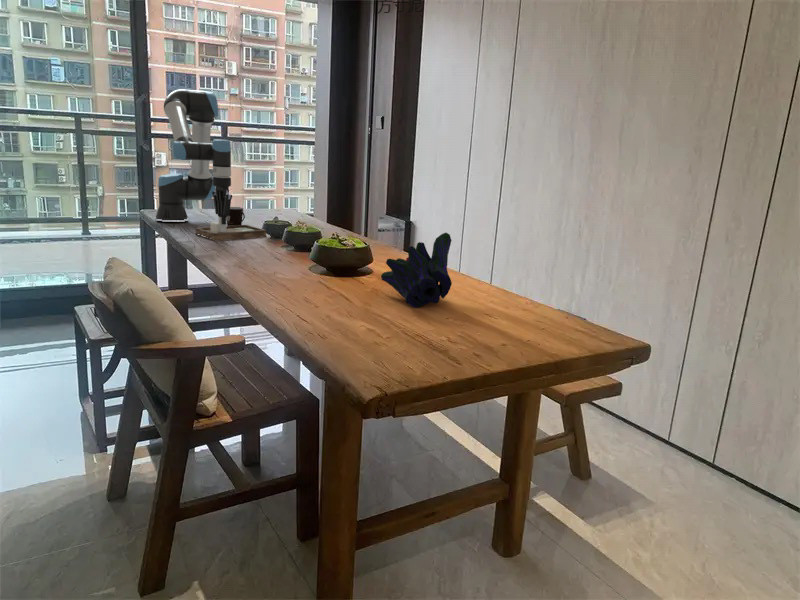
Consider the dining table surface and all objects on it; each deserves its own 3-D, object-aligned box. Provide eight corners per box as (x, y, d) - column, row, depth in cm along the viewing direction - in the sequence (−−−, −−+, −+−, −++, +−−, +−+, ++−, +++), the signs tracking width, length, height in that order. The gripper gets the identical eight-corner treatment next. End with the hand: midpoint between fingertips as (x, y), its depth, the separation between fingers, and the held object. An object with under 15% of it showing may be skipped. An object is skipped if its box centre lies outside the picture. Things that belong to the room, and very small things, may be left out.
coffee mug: (223, 227, 305) (223, 206, 302) (241, 227, 308) (241, 206, 306) (228, 231, 295) (227, 210, 292) (246, 230, 298) (246, 210, 296)
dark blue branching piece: (400, 335, 189) (386, 286, 215) (480, 307, 189) (457, 261, 214) (378, 281, 178) (366, 236, 203) (464, 250, 178) (441, 209, 203)
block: (210, 233, 274) (210, 222, 273) (220, 232, 278) (220, 221, 276) (216, 235, 271) (216, 223, 270) (226, 234, 274) (226, 223, 273)
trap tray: (195, 234, 280) (195, 228, 279) (246, 230, 298) (246, 224, 298) (214, 240, 269) (214, 234, 268) (266, 236, 287) (266, 230, 286)
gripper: (206, 175, 267) (207, 229, 273) (221, 178, 258) (222, 234, 265) (221, 175, 272) (222, 228, 279) (237, 178, 264) (238, 233, 270)
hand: (222, 231), depth 272 cm, fingers closed
